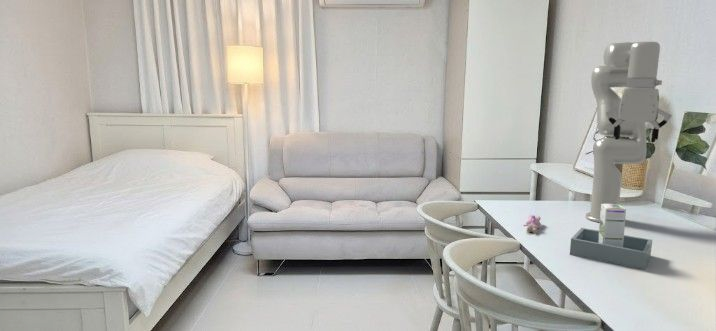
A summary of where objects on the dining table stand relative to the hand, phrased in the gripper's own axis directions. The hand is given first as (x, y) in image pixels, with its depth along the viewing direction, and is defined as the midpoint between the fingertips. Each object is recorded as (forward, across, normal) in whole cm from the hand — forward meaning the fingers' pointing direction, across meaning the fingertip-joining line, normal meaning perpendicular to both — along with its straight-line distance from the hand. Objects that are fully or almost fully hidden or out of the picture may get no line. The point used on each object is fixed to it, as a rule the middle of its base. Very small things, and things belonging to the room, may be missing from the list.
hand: (634, 140), depth 144 cm
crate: (+34, +2, +11) cm, 36 cm away
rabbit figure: (+35, +29, -1) cm, 46 cm away
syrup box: (+34, +2, +11) cm, 35 cm away
